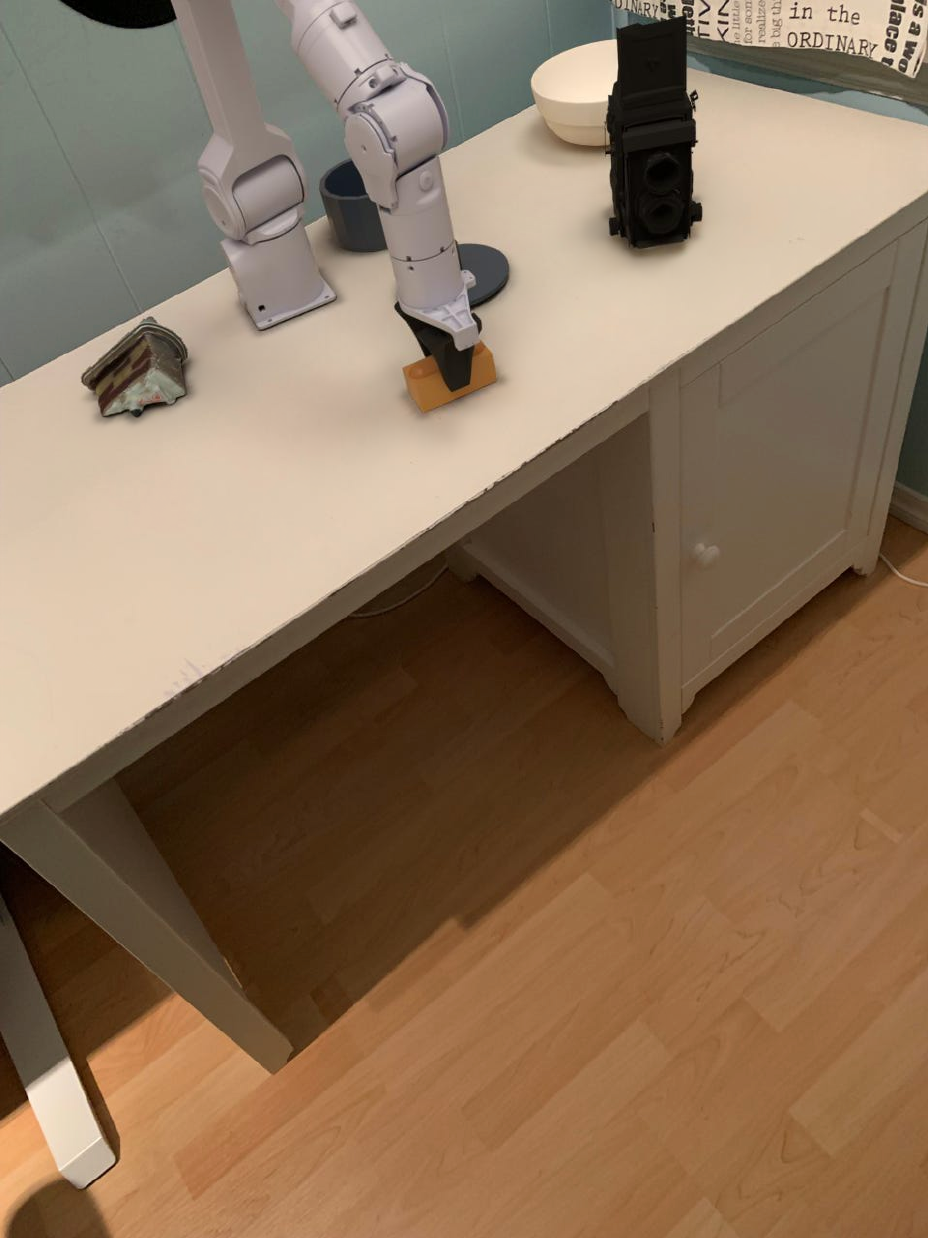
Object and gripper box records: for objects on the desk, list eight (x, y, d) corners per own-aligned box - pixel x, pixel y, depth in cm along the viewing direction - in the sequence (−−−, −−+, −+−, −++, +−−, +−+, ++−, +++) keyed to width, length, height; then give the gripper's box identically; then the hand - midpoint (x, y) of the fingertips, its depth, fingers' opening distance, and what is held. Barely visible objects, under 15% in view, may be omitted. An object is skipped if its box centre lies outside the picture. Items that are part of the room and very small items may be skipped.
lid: (425, 330, 92) (416, 291, 89) (382, 280, 100) (372, 242, 97) (530, 285, 94) (525, 245, 91) (479, 239, 102) (473, 201, 98)
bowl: (689, 94, 116) (691, 32, 110) (666, 163, 105) (666, 98, 100) (555, 101, 121) (550, 43, 116) (520, 167, 111) (513, 106, 106)
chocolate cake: (84, 436, 92) (123, 359, 84) (75, 384, 95) (112, 305, 87) (172, 451, 98) (216, 380, 91) (161, 402, 101) (203, 329, 93)
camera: (615, 271, 93) (607, 63, 78) (602, 208, 101) (592, 9, 86) (711, 256, 92) (723, 41, 76) (690, 193, 100) (696, -12, 85)
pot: (353, 263, 104) (337, 210, 99) (322, 225, 111) (306, 174, 106) (439, 227, 105) (428, 173, 100) (403, 193, 112) (391, 141, 107)
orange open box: (423, 413, 84) (414, 379, 81) (409, 394, 86) (400, 360, 83) (497, 380, 85) (491, 345, 82) (481, 362, 87) (474, 327, 84)
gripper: (501, 260, 70) (521, 397, 81) (429, 194, 79) (456, 325, 89) (422, 293, 69) (453, 428, 80) (358, 223, 78) (394, 352, 88)
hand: (450, 375), depth 84 cm, fingers closed on orange open box, 3 cm apart
